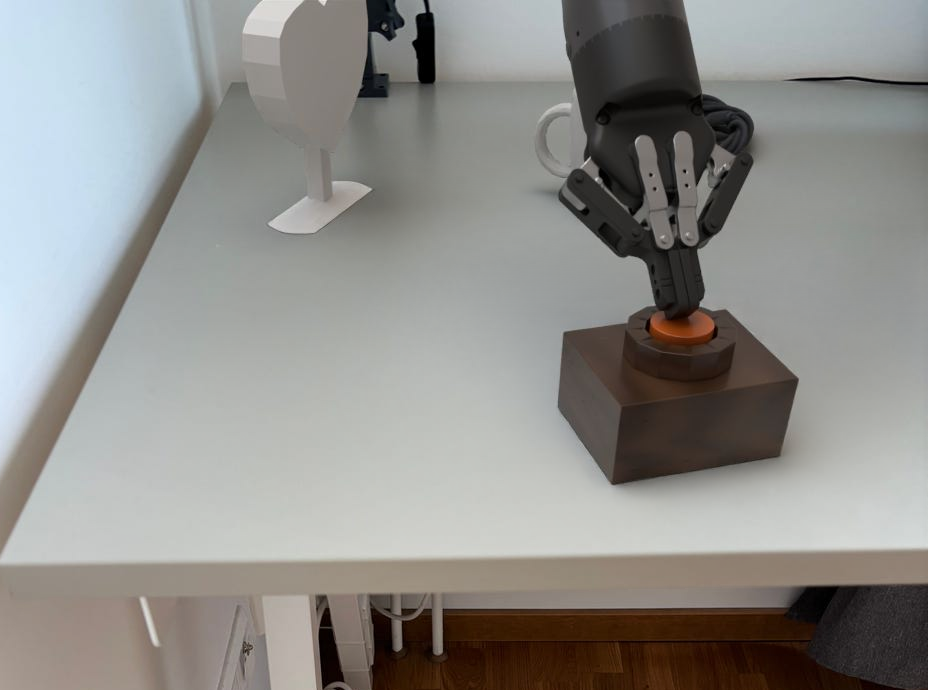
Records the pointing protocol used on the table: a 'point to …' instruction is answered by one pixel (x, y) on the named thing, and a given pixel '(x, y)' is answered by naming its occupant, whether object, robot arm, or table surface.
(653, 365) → the control block
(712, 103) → the cable
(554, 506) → the table surface
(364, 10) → the heart sculpture
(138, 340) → the table surface
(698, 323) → the button
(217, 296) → the table surface
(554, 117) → the mug
